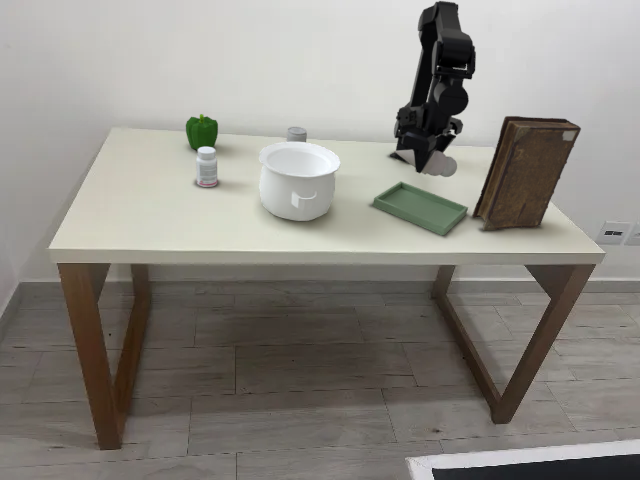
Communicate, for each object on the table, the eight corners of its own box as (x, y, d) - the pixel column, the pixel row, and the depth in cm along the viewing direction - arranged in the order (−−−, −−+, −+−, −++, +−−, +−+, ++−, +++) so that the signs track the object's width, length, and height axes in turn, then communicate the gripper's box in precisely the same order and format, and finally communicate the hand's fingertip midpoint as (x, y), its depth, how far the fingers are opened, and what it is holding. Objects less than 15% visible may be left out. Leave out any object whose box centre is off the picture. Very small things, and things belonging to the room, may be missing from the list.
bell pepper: (192, 140, 138) (191, 105, 132) (221, 145, 137) (221, 109, 132) (181, 151, 131) (179, 115, 125) (211, 156, 130) (211, 119, 125)
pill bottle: (221, 184, 118) (221, 151, 113) (204, 189, 115) (204, 155, 110) (209, 176, 120) (208, 144, 116) (192, 181, 117) (191, 148, 113)
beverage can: (305, 173, 128) (310, 129, 121) (298, 181, 124) (303, 135, 117) (288, 169, 129) (291, 125, 122) (281, 176, 125) (284, 131, 118)
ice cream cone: (386, 167, 113) (447, 185, 115) (393, 160, 107) (458, 179, 108) (392, 142, 114) (453, 160, 115) (400, 133, 108) (464, 153, 109)
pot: (254, 184, 120) (256, 136, 113) (324, 186, 123) (330, 139, 116) (260, 233, 101) (262, 179, 95) (342, 233, 105) (350, 181, 98)
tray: (399, 188, 126) (400, 181, 125) (466, 215, 118) (468, 207, 117) (372, 205, 117) (374, 198, 116) (443, 235, 109) (445, 227, 107)
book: (533, 216, 121) (572, 117, 107) (548, 232, 115) (591, 129, 102) (469, 215, 118) (501, 113, 104) (482, 231, 112) (517, 125, 98)
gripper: (426, 83, 115) (412, 146, 123) (386, 98, 101) (374, 167, 110) (471, 96, 109) (454, 161, 118) (436, 113, 96) (418, 185, 105)
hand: (425, 168), depth 113 cm, fingers closed on ice cream cone, 7 cm apart
